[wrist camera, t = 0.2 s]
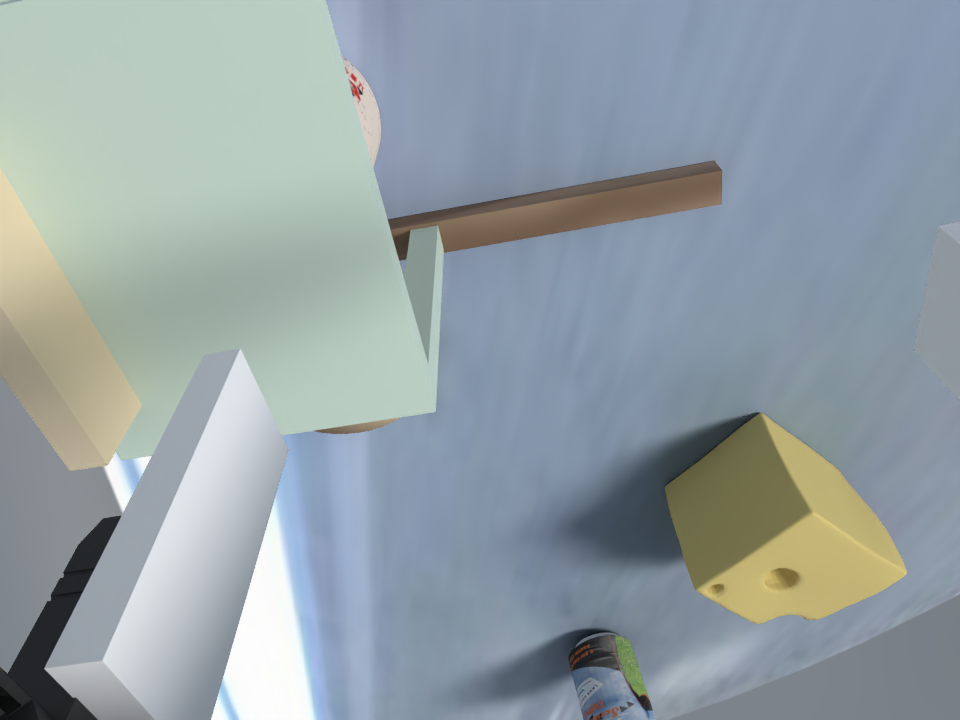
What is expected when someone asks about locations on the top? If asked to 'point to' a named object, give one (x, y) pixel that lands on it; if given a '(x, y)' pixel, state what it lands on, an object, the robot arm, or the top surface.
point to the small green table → (197, 223)
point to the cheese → (778, 529)
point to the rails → (567, 208)
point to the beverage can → (609, 679)
